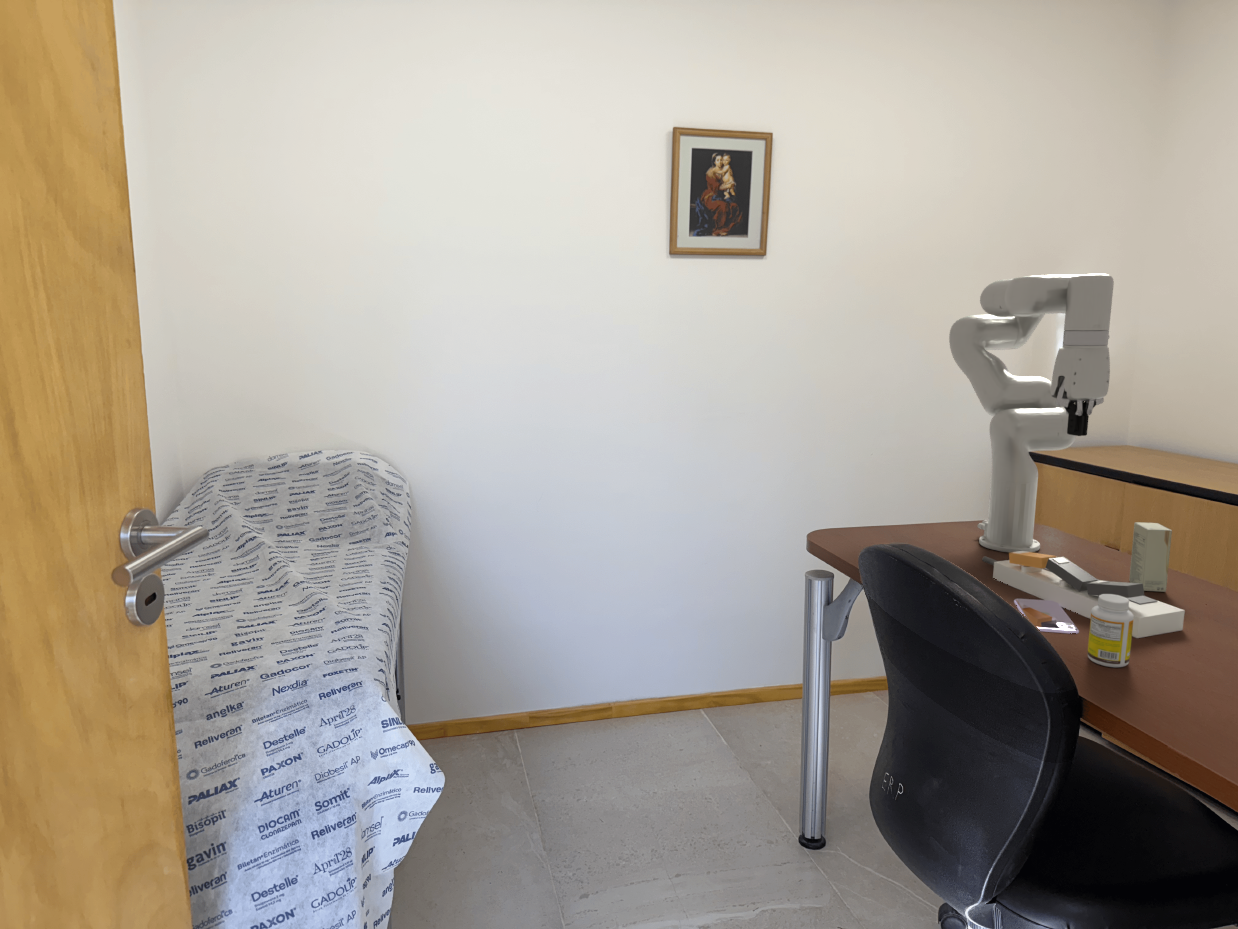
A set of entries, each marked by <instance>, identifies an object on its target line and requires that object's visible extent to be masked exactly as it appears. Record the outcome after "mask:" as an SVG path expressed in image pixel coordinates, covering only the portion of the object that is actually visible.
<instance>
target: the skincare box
mask: <svg viewBox="0 0 1238 929" xmlns="http://www.w3.org/2000/svg"><path fill="white" fill-rule="evenodd" d="M1172 534H1173V530H1172V529H1171V528H1168V527H1166V526H1164V525H1162V524H1160V523H1158V522H1139V521H1137V522H1134V525H1133V536H1132V549H1131V558H1130V568H1129V579H1128V581H1130V582H1129V583H1143V588H1144V592H1146V591H1147V592H1162V593H1163V592H1164V593H1166V591H1167V586H1168V584H1167V583H1168V573H1169V564H1170V554H1171V544H1172Z"/></svg>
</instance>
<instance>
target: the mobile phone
mask: <svg viewBox="0 0 1238 929" xmlns="http://www.w3.org/2000/svg"><path fill="white" fill-rule="evenodd" d="M1013 603H1014V605H1015V606H1016V605H1017V606H1016V607H1017V610H1018V611H1019V613H1020V612H1021V613H1022V614H1024V616H1026V617H1027V618H1028V620H1030V621H1031V622H1032V623H1033V624H1034V625H1035V626H1036V627H1037V628H1038V629H1039V630H1040V631H1039V632H1046V633H1048V632H1049V633H1061V634H1070V633H1071V634H1072V633H1076V634H1079V632H1080V630H1079V629H1078V627H1077V626H1076V624H1075V623H1074V622H1073V621H1072V620H1071V618H1070V616H1069V615H1068V614H1067V612H1065V610H1064V608H1063V607H1061V606H1060V605H1059V604H1058V603H1057V602H1054V601H1049V600H1044V599H1033V598H1030V599H1029V598H1015V599H1014V600H1013ZM1021 613H1020V614H1021ZM1022 614H1021V615H1022ZM1072 635H1073V634H1072Z"/></svg>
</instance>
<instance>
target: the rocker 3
mask: <svg viewBox="0 0 1238 929" xmlns="http://www.w3.org/2000/svg"><path fill="white" fill-rule="evenodd" d="M1086 584H1087V592H1088V595H1098V596H1099V595H1101V594H1114V595H1119V596H1123V597H1125V598H1131V597H1138V596H1145V591H1144V588H1143V583H1131V582H1127V581H1126V582H1125V581H1123V582H1122V581H1109V580H1101V581H1096V582H1091V583H1086Z"/></svg>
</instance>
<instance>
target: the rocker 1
mask: <svg viewBox="0 0 1238 929" xmlns="http://www.w3.org/2000/svg"><path fill="white" fill-rule="evenodd" d="M1056 557H1057V556H1056V555H1052V554H1046V553H1040V552H1039V553H1038V552H1027V551H1018V552H1012V553H1010V552H1008V558H1009V559H1008V560H1009V562H1010V563H1013V564H1019V565H1024V566H1030V567H1036V568H1046V565H1047V562H1048V559H1049V558H1056Z"/></svg>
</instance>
